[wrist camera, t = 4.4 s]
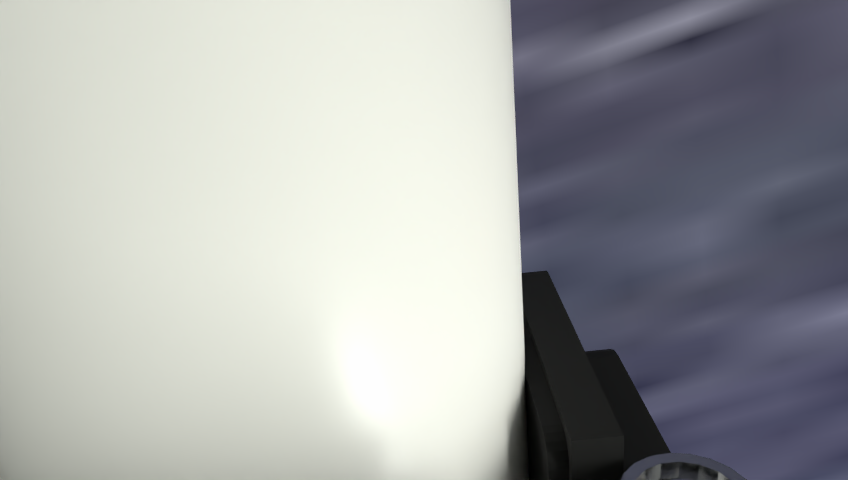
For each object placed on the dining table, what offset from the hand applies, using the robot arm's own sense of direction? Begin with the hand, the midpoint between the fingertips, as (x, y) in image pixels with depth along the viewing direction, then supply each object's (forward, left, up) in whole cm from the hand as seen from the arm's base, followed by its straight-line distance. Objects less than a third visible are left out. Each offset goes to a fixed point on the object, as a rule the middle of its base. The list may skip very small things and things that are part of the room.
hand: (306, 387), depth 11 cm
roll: (0, 0, -1) cm, 1 cm away
